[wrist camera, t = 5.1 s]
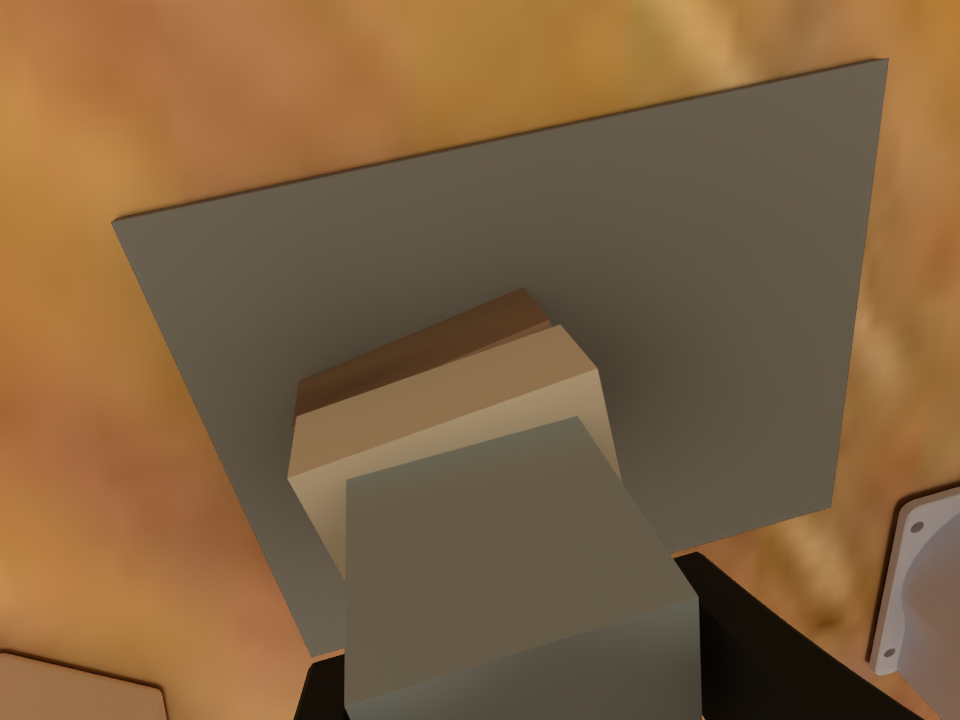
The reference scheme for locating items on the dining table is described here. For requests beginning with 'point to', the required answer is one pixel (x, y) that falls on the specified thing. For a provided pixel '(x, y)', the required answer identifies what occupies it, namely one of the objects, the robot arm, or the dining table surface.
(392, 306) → the felt mat
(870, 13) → the dining table surface
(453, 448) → the cream slab
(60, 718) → the jar
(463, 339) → the walnut slab
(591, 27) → the dining table surface
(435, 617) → the gray cube
